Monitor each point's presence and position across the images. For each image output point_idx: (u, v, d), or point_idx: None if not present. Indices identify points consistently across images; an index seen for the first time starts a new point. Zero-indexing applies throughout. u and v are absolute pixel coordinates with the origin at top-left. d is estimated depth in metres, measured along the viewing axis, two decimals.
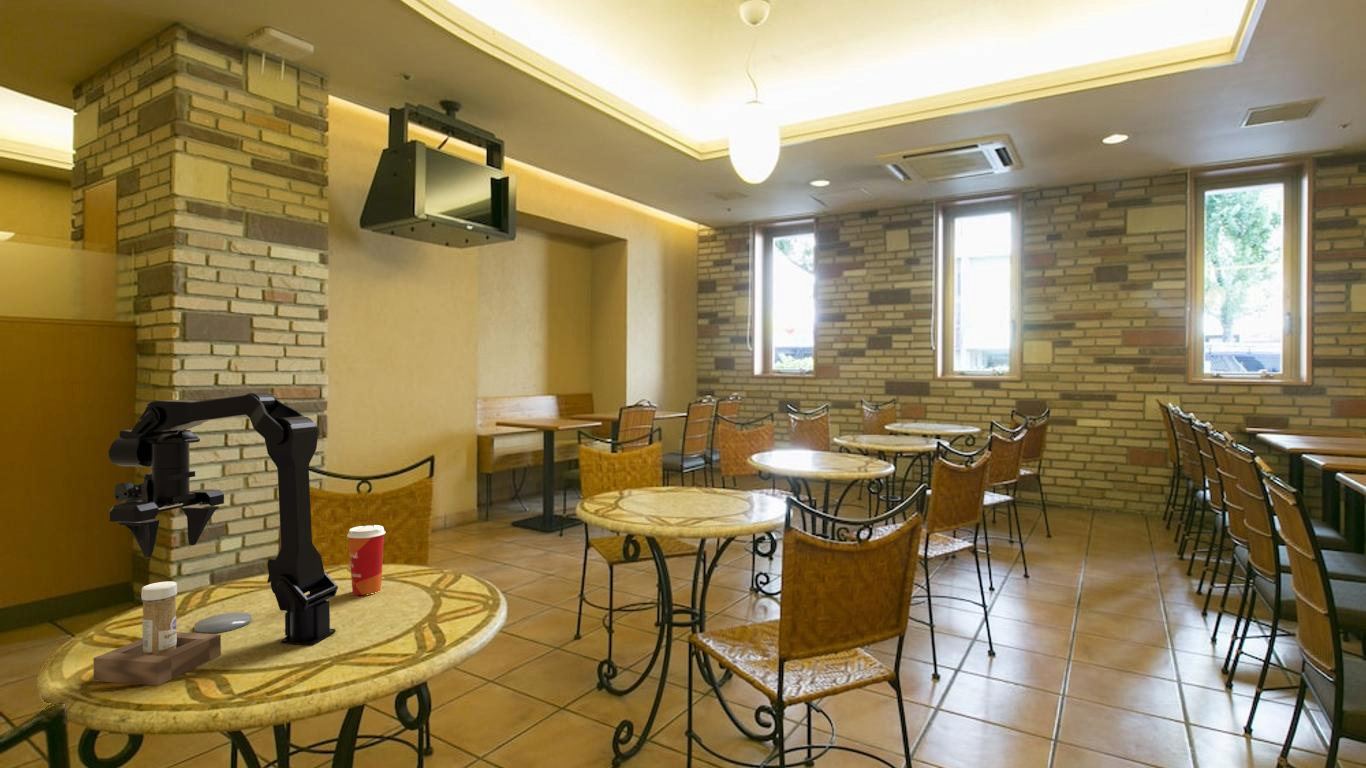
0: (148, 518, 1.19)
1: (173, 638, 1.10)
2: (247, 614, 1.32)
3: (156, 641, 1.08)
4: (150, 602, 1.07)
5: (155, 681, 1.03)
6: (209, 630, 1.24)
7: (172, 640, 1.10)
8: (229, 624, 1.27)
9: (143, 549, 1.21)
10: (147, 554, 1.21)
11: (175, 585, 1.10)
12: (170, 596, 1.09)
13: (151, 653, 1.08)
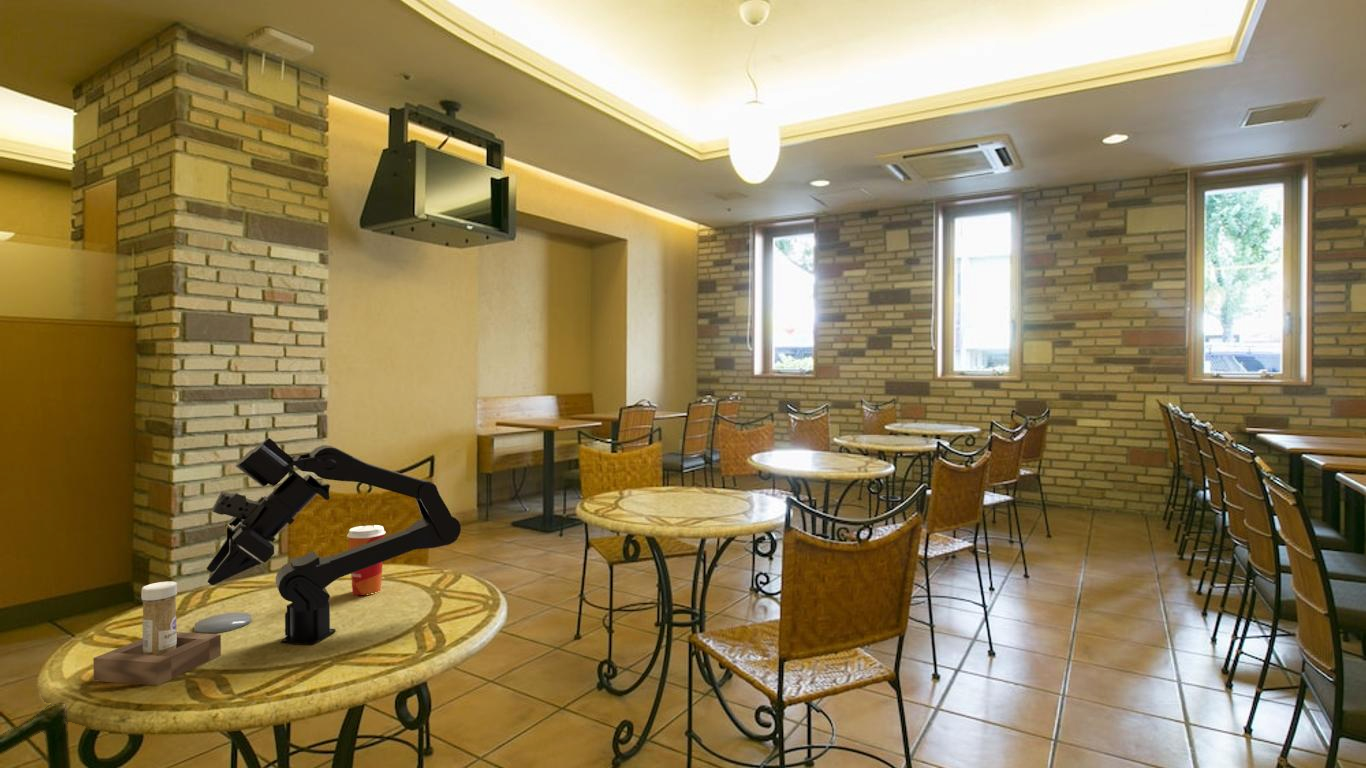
0: None
1: (173, 638, 1.10)
2: (247, 614, 1.32)
3: (156, 641, 1.08)
4: (150, 602, 1.07)
5: (155, 681, 1.03)
6: (209, 630, 1.24)
7: (172, 640, 1.10)
8: (229, 624, 1.27)
9: (216, 576, 1.10)
10: (214, 581, 1.10)
11: (175, 585, 1.10)
12: (170, 596, 1.09)
13: (151, 653, 1.08)
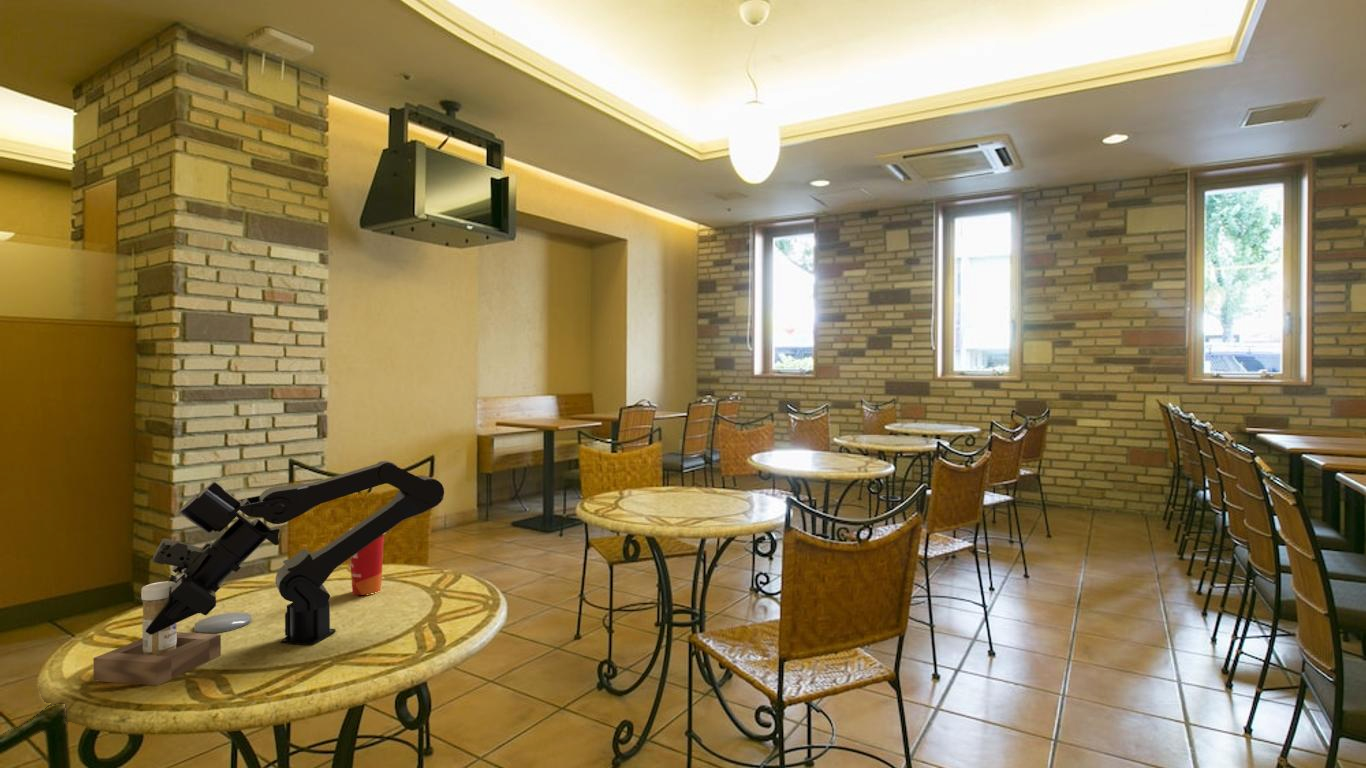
0: None
1: (173, 638, 1.10)
2: (247, 614, 1.32)
3: (156, 641, 1.08)
4: (150, 602, 1.07)
5: (155, 681, 1.03)
6: (209, 630, 1.24)
7: (172, 640, 1.10)
8: (229, 624, 1.27)
9: (155, 625, 1.07)
10: (152, 631, 1.07)
11: None
12: None
13: (151, 653, 1.08)
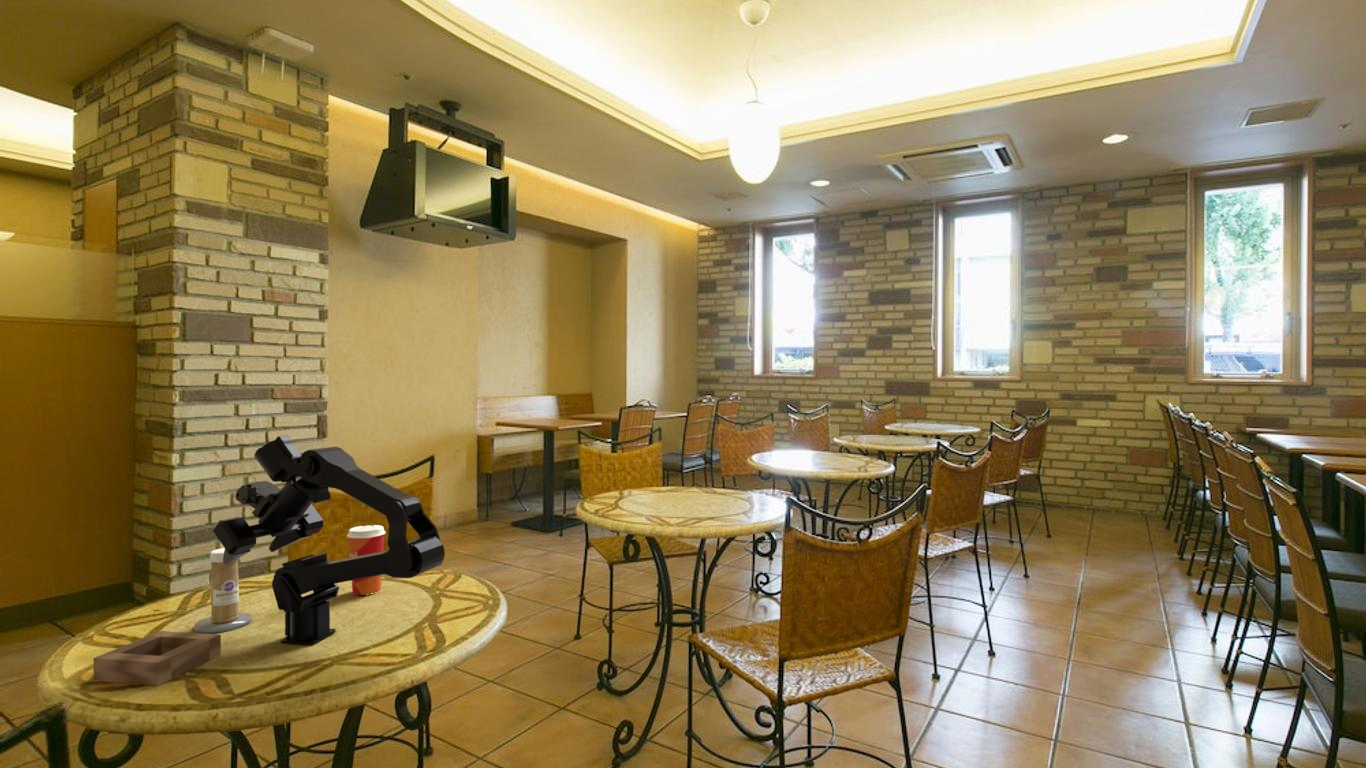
0: (241, 551, 1.17)
1: (225, 599, 1.27)
2: (247, 614, 1.32)
3: (212, 597, 1.27)
4: (211, 563, 1.28)
5: (155, 681, 1.03)
6: (209, 630, 1.24)
7: (224, 600, 1.27)
8: (229, 624, 1.27)
9: (225, 557, 1.21)
10: (225, 561, 1.22)
11: None
12: (220, 562, 1.27)
13: None
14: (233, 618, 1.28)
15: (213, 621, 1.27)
